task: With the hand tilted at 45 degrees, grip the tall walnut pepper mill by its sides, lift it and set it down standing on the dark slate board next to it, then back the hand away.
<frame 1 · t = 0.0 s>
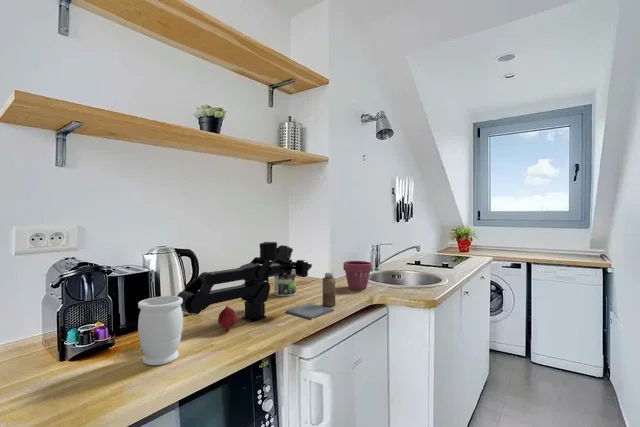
hand: (303, 264, 135), 16 cm above the countertop, tool horizontal, fingers open, 9 cm apart
pepper mill: (329, 305, 132), on the countertop
slate board: (309, 311, 123), on the countertop
onion: (227, 330, 104), on the countertop, touching arm
coffee can: (285, 294, 152), on the countertop
jar: (161, 359, 83), on the countertop
plant pot: (357, 288, 164), on the countertop
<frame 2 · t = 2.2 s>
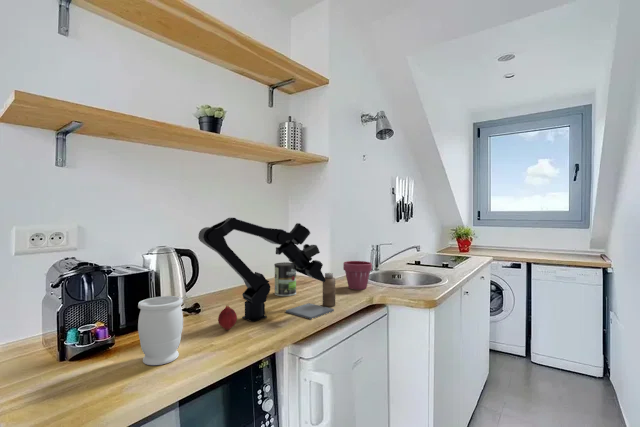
hand: (319, 279, 130), 11 cm above the countertop, tool tilted 45°, fingers open, 9 cm apart
onion: (227, 330, 104), on the countertop
everything else where it was.
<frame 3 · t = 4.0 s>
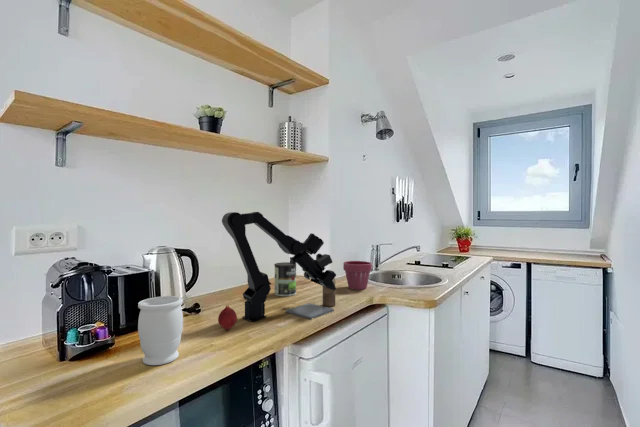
hand: (331, 288, 133), 7 cm above the countertop, tool tilted 45°, fingers closed on pepper mill, 5 cm apart
pepper mill: (329, 305, 132), on the countertop, touching gripper
everything else where it was.
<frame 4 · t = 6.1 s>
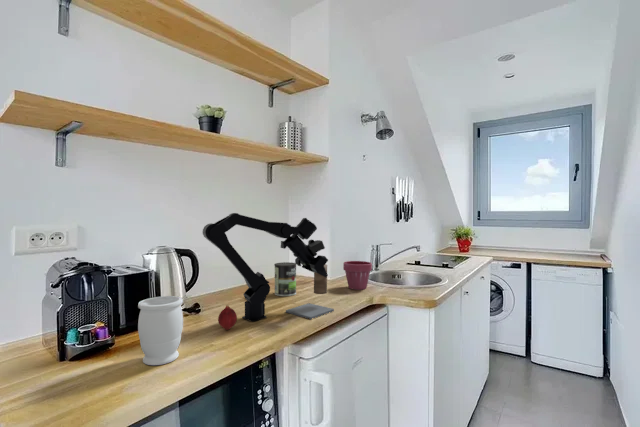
hand: (323, 275, 129), 13 cm above the countertop, tool tilted 45°, fingers closed on pepper mill, 5 cm apart
pepper mill: (320, 292, 128), point 6 cm above the countertop, touching gripper
everything else where it was.
when the fingers open (9 cm above the countertop, at t = 8.0 s): pepper mill drops 1 cm, resting on slate board.
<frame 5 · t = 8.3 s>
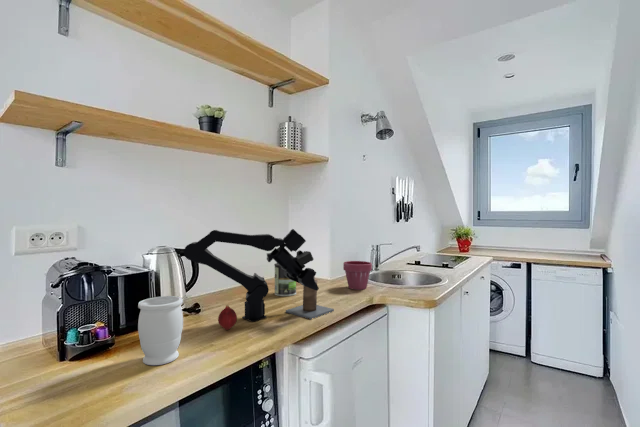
hand: (313, 287, 124), 9 cm above the countertop, tool tilted 45°, fingers open, 8 cm apart
pepper mill: (309, 309, 123), point 1 cm above the countertop, touching slate board
everything else where it was.
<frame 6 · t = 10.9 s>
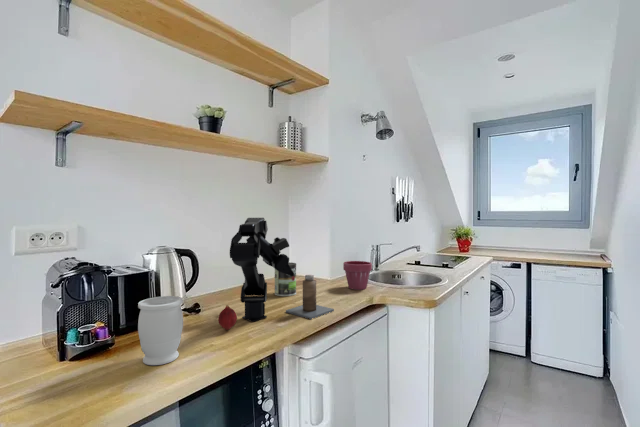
hand: (289, 273, 129), 14 cm above the countertop, tool tilted 45°, fingers open, 9 cm apart
nothing on the countertop moved.
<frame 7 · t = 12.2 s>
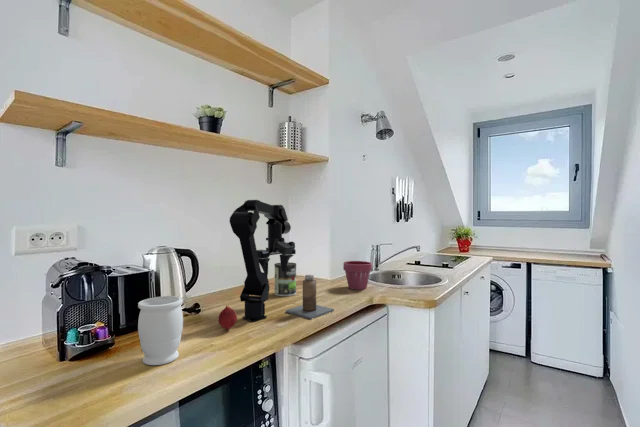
hand: (275, 273, 132), 13 cm above the countertop, tool pointing down, fingers open, 9 cm apart
nothing on the countertop moved.
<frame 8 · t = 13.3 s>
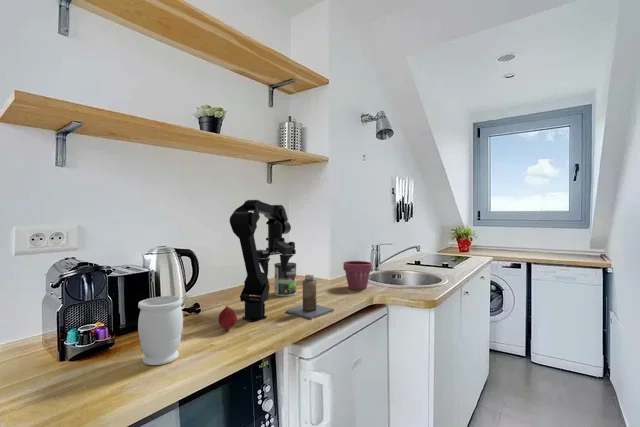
hand: (275, 273, 132), 13 cm above the countertop, tool pointing down, fingers open, 9 cm apart
nothing on the countertop moved.
at the end: pepper mill inside the target area on the slate board (0.1 cm from its centre), point 0.8 cm above the slate board's base; pepper mill tilted 0°; the gripper is holding nothing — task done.
